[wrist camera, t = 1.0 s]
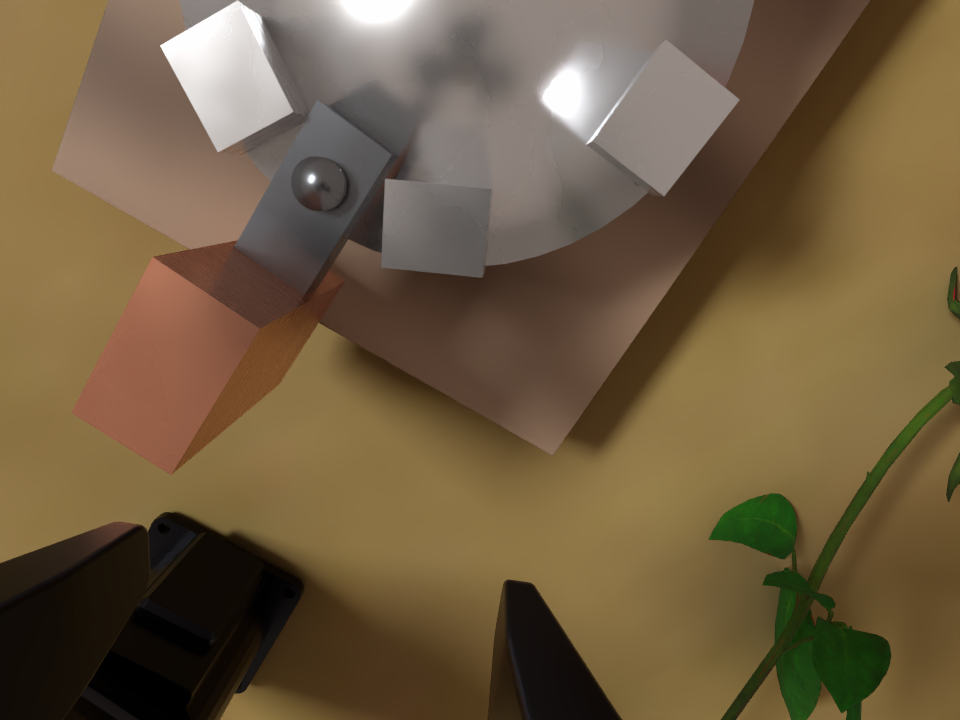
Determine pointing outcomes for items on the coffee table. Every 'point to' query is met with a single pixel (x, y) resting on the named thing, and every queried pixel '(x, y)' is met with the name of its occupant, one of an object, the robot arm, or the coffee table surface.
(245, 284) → the round disc with cubes
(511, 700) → the robot arm
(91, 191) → the square disc baseplate
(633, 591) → the coffee table surface
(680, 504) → the coffee table surface
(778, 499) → the flower
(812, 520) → the coffee table surface
